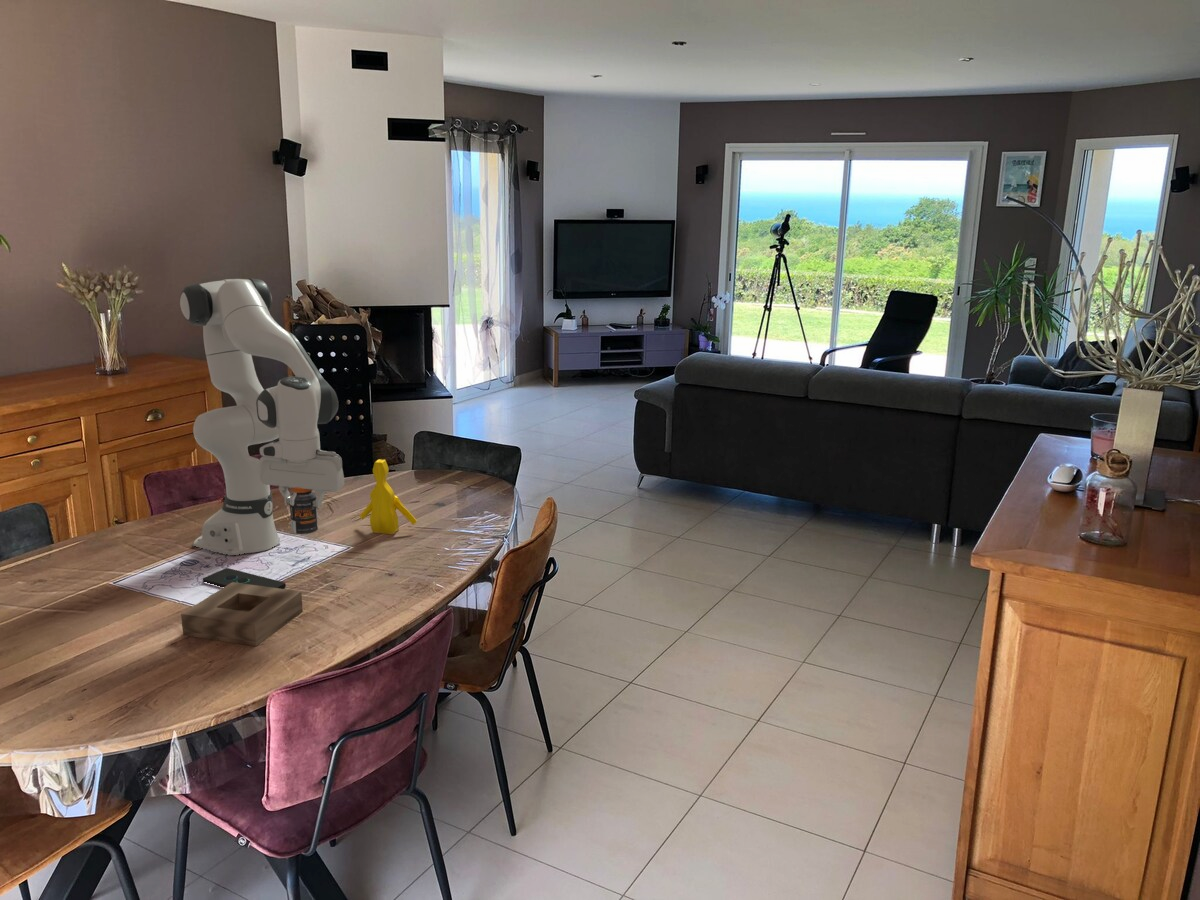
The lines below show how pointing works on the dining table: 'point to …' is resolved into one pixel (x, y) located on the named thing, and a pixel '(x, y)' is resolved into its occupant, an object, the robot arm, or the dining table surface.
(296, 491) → the pill bottle
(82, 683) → the dining table surface
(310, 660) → the dining table surface
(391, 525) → the figure statuette
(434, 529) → the dining table surface
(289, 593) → the walnut holder
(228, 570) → the smart home device
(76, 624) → the dining table surface
